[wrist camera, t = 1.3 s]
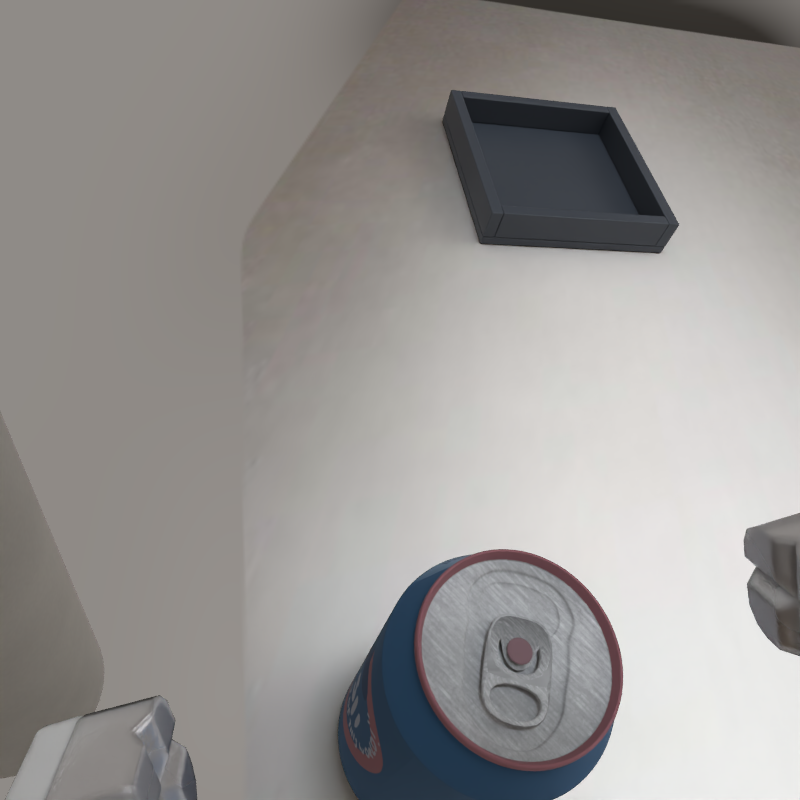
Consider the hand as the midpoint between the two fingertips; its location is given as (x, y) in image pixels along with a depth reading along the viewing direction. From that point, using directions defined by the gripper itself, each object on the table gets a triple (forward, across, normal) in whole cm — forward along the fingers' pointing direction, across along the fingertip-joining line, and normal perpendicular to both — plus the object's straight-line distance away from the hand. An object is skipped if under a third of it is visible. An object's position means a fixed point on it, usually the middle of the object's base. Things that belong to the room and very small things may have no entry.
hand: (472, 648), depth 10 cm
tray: (+44, -18, -3) cm, 48 cm away
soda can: (+15, +1, +15) cm, 21 cm away
